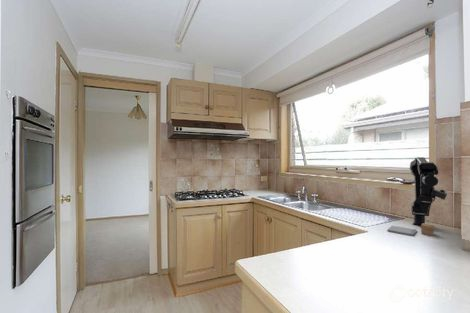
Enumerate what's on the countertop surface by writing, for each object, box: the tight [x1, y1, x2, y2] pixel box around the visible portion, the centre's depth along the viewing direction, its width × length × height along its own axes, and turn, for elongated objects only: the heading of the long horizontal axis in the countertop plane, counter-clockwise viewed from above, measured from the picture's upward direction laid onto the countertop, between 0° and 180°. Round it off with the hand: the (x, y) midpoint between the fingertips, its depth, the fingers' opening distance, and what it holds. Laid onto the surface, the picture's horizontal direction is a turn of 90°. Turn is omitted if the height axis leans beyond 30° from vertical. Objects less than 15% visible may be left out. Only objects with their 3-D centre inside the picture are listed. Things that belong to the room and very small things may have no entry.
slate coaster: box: [387, 225, 418, 237], centre depth 137 cm, size 12×12×1 cm
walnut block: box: [420, 223, 435, 237], centre depth 133 cm, size 5×5×5 cm
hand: (427, 212), depth 133 cm, fingers open, 9 cm apart
